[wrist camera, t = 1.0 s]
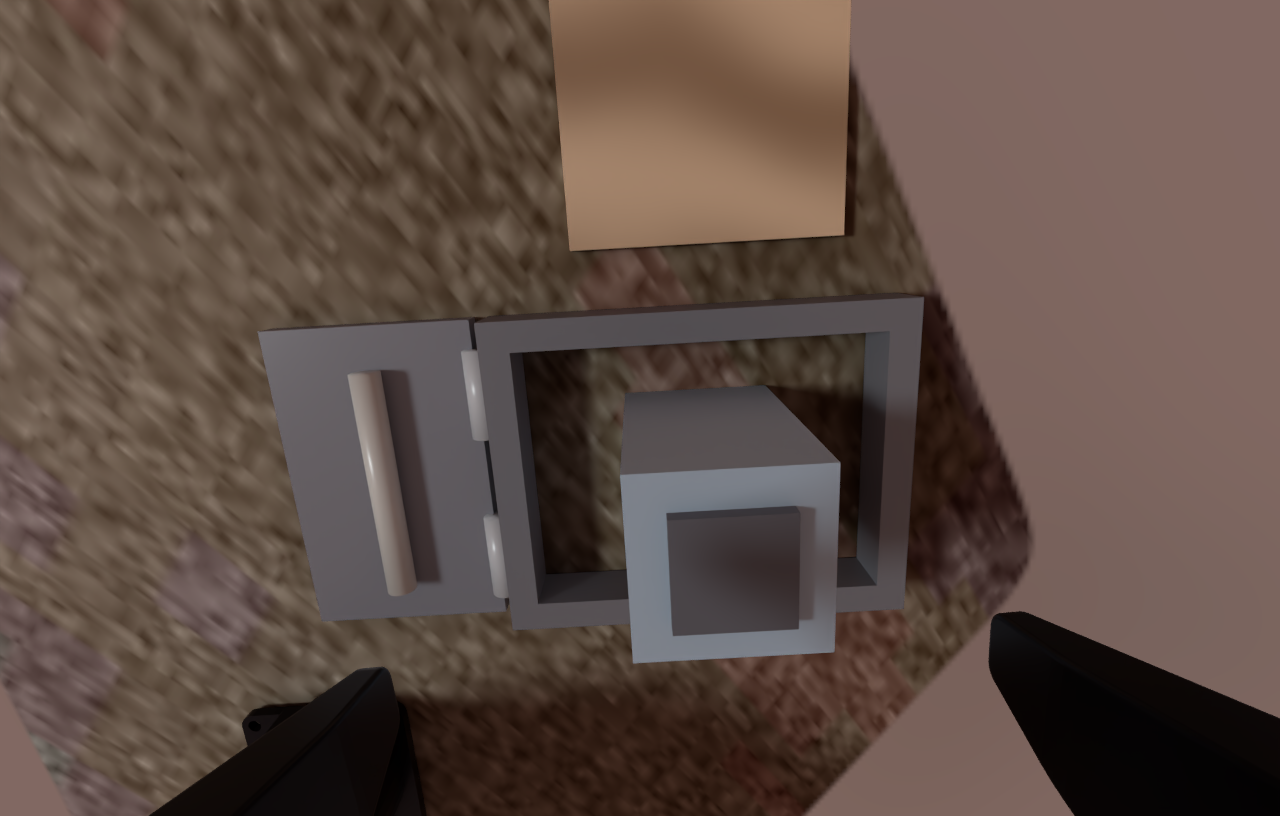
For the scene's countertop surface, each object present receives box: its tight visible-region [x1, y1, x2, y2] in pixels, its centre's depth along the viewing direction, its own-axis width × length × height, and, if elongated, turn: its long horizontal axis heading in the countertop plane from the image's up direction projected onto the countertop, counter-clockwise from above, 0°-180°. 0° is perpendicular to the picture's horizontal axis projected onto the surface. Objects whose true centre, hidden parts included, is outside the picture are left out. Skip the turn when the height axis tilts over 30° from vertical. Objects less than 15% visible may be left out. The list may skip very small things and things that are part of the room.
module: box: [620, 385, 840, 663], centre depth 18 cm, size 5×5×8 cm
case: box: [258, 293, 924, 630], centre depth 21 cm, size 11×22×2 cm, turn 93°
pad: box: [549, 0, 851, 251], centre depth 18 cm, size 9×9×1 cm
